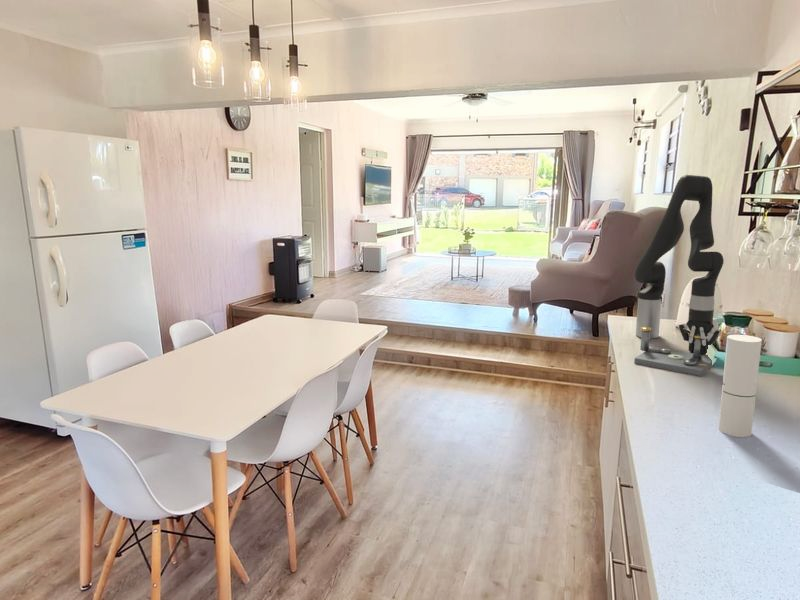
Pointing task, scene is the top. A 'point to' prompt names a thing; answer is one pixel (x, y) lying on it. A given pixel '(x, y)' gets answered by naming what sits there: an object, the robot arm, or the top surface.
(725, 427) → the cylindrical container
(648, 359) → the board
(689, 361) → the crank
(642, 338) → the crank
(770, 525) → the top surface
